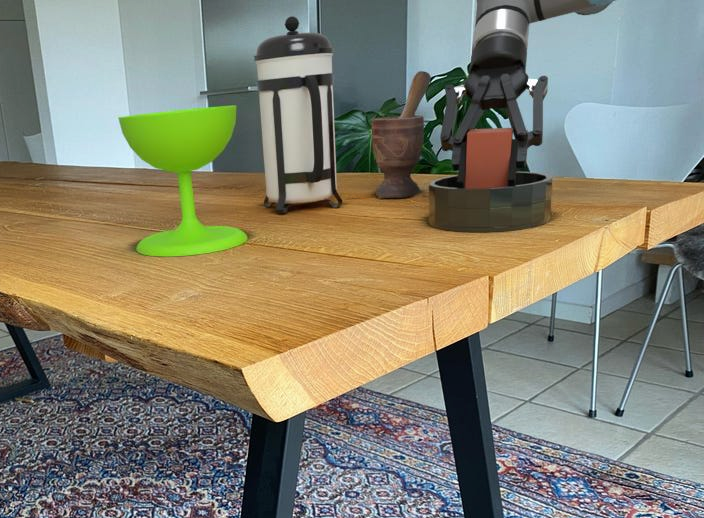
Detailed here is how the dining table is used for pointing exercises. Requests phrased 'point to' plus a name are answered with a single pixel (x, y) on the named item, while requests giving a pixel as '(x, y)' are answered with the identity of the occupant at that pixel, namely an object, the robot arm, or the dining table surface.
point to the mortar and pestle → (400, 143)
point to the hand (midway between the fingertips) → (485, 186)
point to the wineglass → (183, 171)
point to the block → (488, 157)
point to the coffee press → (297, 118)
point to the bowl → (490, 204)
